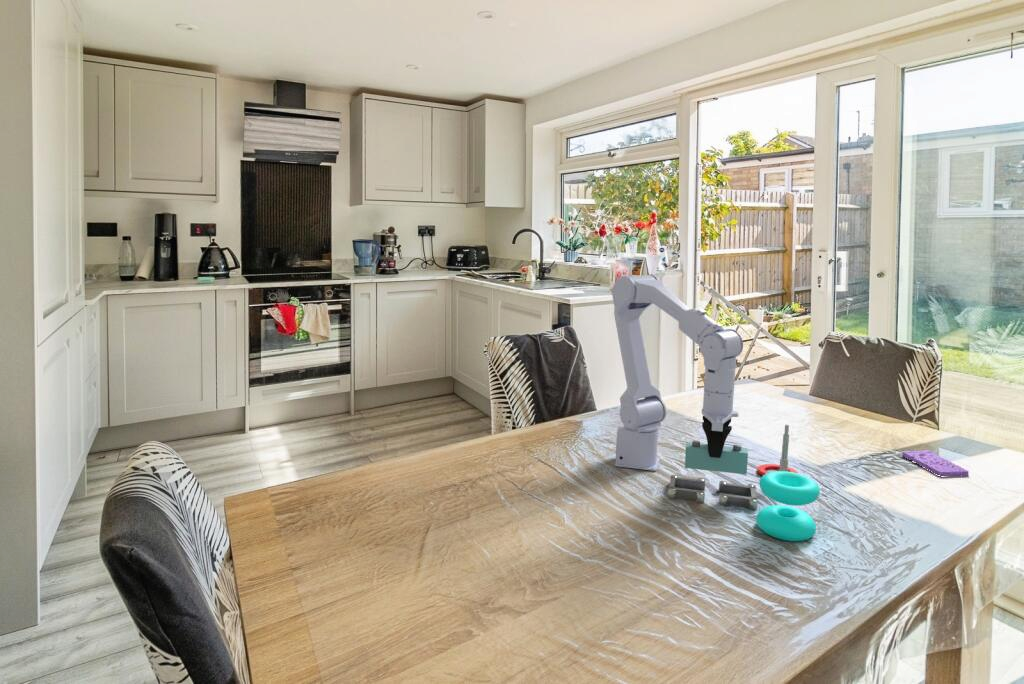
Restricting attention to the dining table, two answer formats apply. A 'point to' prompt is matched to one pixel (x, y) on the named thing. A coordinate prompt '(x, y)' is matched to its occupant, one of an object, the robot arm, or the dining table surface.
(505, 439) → the dining table surface
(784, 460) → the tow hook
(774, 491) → the donuts
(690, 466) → the teal studded beam
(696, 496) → the chain end
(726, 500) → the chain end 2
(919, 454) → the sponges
